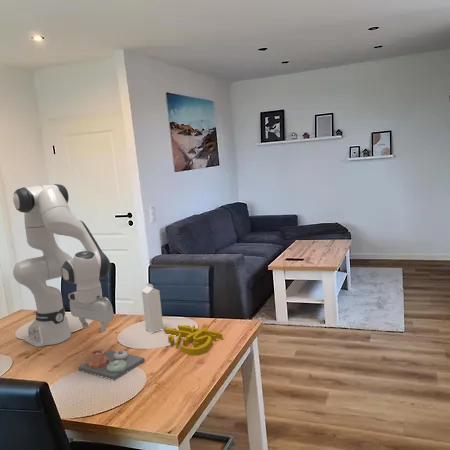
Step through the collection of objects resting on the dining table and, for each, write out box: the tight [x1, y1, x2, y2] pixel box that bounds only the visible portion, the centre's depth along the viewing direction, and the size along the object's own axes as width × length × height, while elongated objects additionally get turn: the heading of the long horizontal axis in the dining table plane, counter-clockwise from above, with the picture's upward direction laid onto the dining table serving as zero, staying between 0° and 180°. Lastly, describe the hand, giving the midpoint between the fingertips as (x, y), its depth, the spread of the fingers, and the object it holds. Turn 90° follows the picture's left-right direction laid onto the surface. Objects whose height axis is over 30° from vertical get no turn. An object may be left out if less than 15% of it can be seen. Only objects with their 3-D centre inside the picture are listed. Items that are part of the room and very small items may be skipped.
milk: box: [141, 282, 164, 333], centre depth 198 cm, size 6×6×22 cm
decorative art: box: [163, 324, 224, 356], centre depth 184 cm, size 21×3×30 cm
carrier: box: [77, 349, 146, 381], centre depth 165 cm, size 19×16×6 cm
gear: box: [86, 349, 109, 368], centre depth 164 cm, size 8×8×5 cm
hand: (93, 329), depth 163 cm, fingers open, 8 cm apart
